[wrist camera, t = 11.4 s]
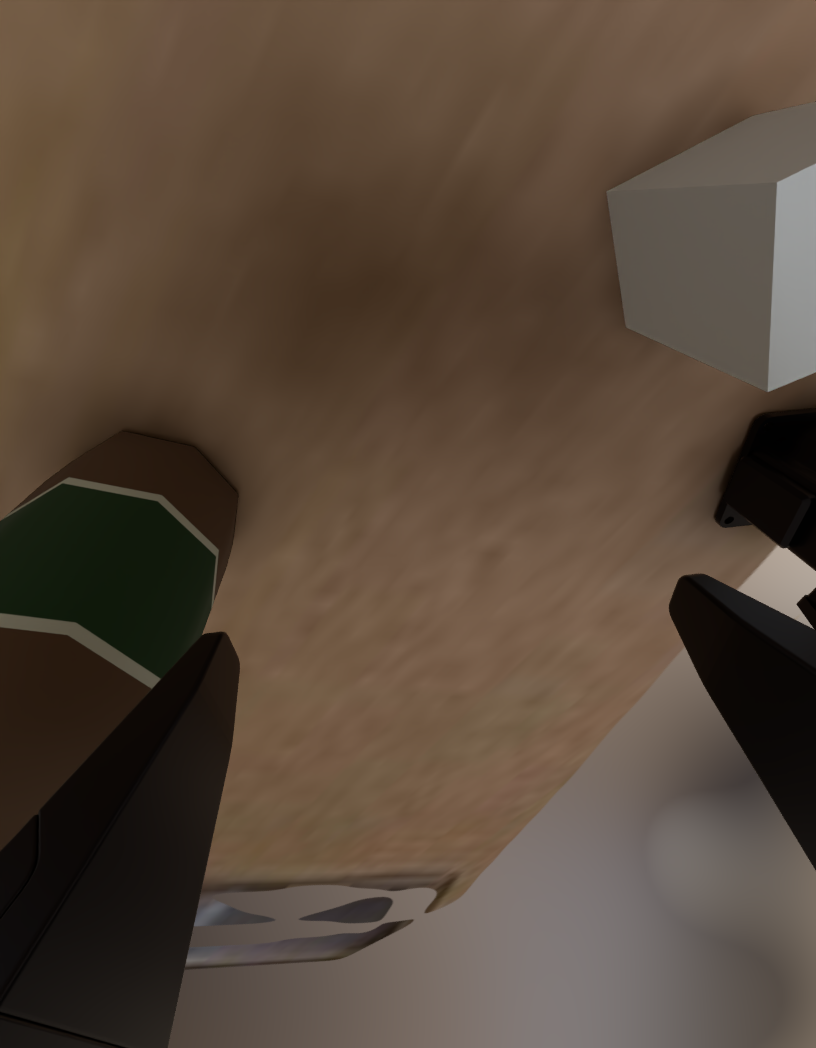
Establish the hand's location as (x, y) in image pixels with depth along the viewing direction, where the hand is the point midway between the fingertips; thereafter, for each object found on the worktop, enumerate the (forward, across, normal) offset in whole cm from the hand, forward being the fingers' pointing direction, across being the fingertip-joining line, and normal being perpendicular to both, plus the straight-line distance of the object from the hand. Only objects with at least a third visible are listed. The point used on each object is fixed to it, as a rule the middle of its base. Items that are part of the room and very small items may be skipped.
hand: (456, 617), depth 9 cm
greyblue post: (+13, -11, -5) cm, 18 cm away
